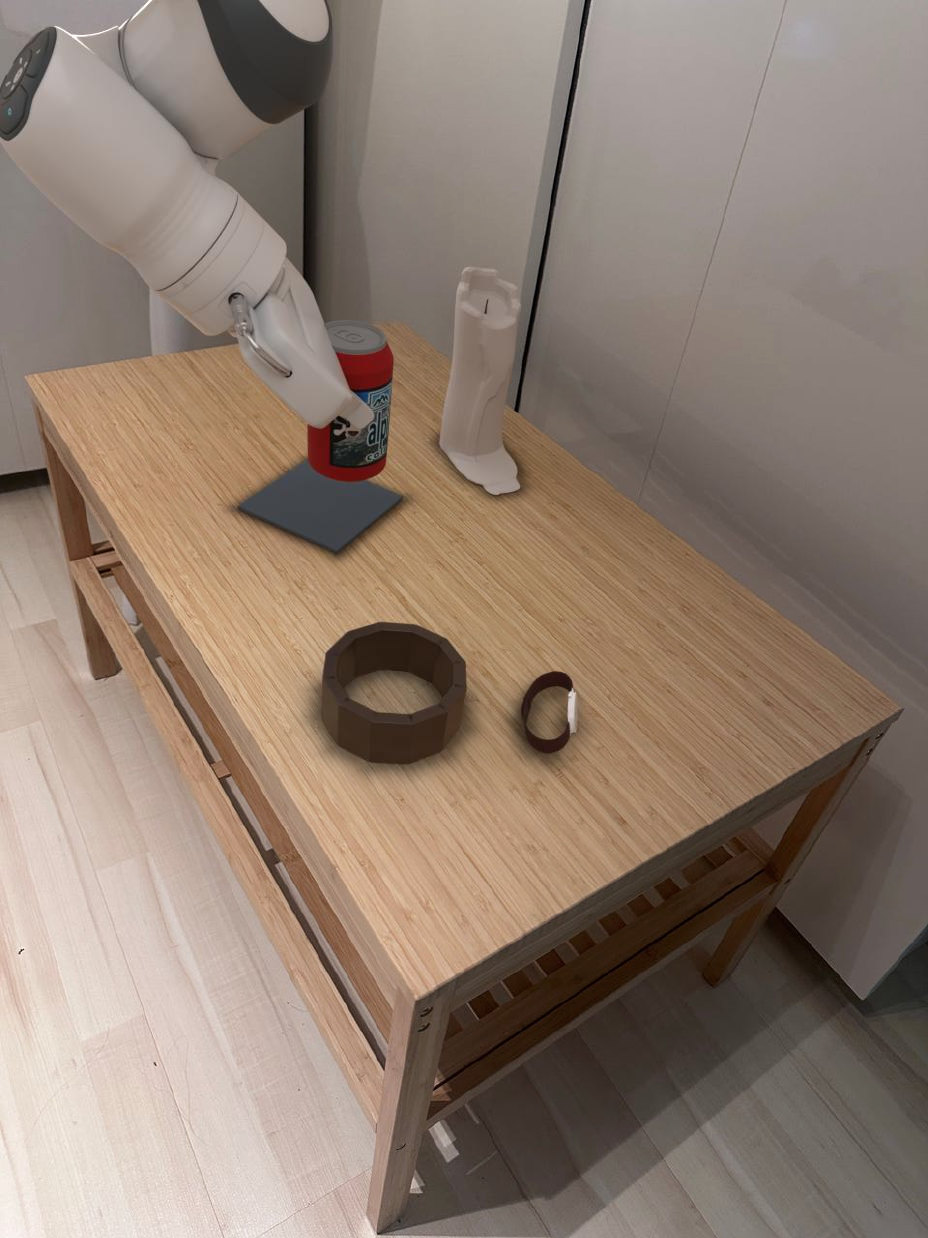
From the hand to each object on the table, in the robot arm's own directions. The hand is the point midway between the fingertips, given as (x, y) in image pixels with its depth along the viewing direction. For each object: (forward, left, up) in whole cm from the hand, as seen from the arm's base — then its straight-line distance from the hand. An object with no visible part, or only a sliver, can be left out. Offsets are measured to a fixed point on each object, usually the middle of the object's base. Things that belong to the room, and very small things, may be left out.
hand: (356, 394), depth 70 cm
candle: (+1, +25, -18) cm, 30 cm away
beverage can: (0, 0, -7) cm, 7 cm away
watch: (+24, -8, -18) cm, 31 cm away
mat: (-8, +6, -17) cm, 20 cm away
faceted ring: (+13, -14, -17) cm, 26 cm away
